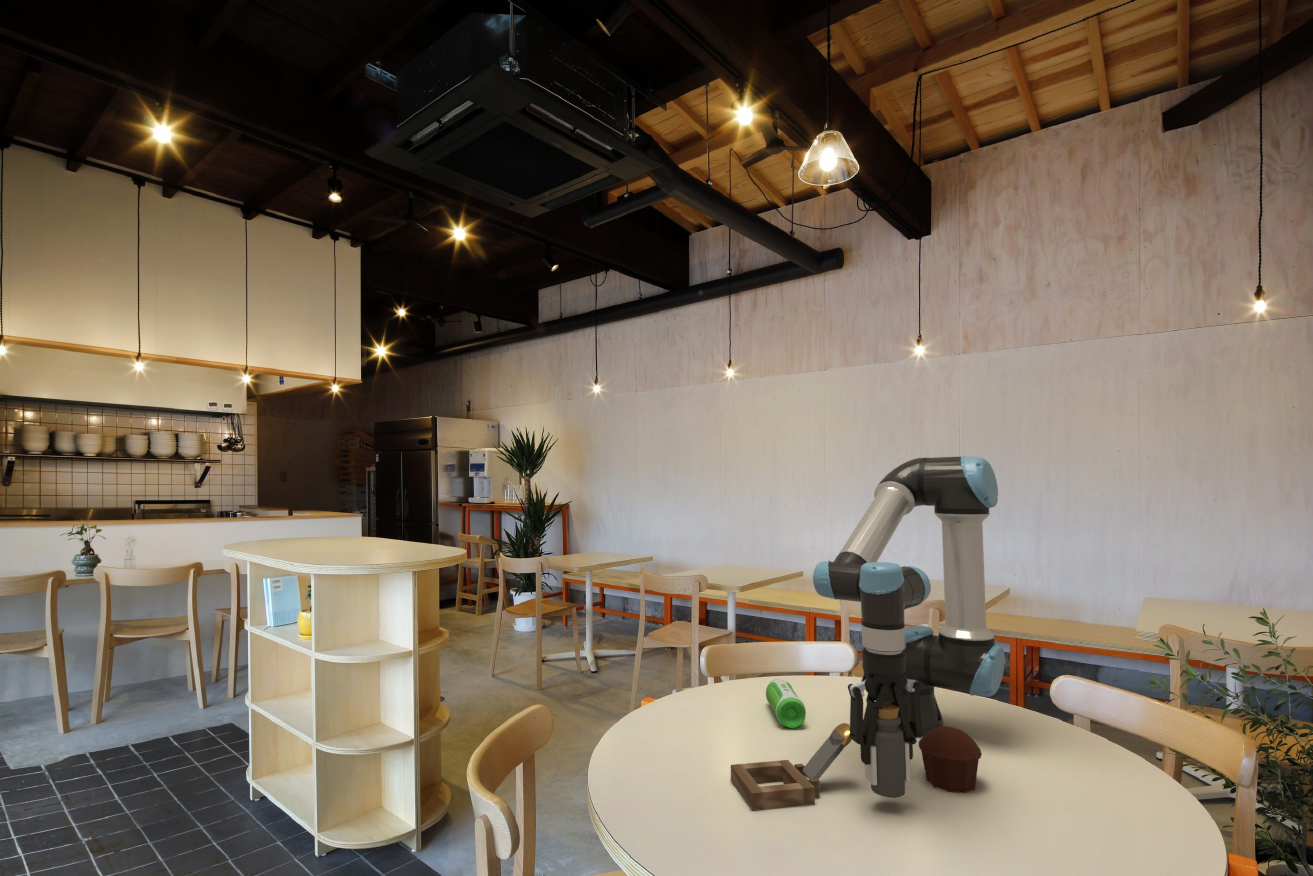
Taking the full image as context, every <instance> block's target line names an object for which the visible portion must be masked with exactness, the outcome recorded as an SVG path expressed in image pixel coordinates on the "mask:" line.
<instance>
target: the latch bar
mask: <svg viewBox="0 0 1313 876" xmlns="http://www.w3.org/2000/svg"><path fill="white" fill-rule="evenodd" d="M852 741H853V740H852V739H851V738H850V723H849V724H848V723H847V722H843V723H840V724H838V725H837V726H836V727H834V729H833V730H832V731H831V733H830V735H829V736H828V737H827V738H826V740H825V741H824V742H823V744H821V746H820V747H819V749H818V750H817V751H816V752H815V753H814V754H813V755H812V757H810V759H809V760H808V762H807V763H806V764H804V766H805V767H804V768H803V769H802V771H801V772H800V773H801V774H802V775H803V776H804V777H805V778H806V779H807V780H808V781H809V779H811V778H817V779H818V780H819V781H820V778H821V777H822V776H823V775H824V774H825V772H826V771H827V770H828V769H829V768H830V766H831V765H832V764H833V763H834V761H835V760H836V759H837V758H838V756H839V755H840V754H841V752H843V750H844V749H845V748H846V747H847V746H848V745H849V744H850V743H851V742H852Z"/></svg>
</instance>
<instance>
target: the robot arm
mask: <svg viewBox="0 0 1313 876" xmlns="http://www.w3.org/2000/svg"><path fill="white" fill-rule="evenodd" d="M873 497H874V499H873V500H872V502H871V503H870V505H869V507H868V508H867V510H866V511H865V513H864V514H863V516H862V517H861V518H860V520H859V522H858V524H857V525H856V527H855V528H854V530H853V531H852V533H850V534H851V535H850V536H849V537H848V539H847V540H846V542H845V544H844V545H843V547H842V548H841V550H840V551H839V553H838V555H836V557H835V559H833V561H831V560H826V561H825V560H823V561H820V562H818V563H817V564H816V565H815V568H814V569H813V573H812V583H813V587H814V591H815V593H817V594H818V595H819V596H820V597H823V598H829V599H833V600H836V601H837V600H839V601H851V602H858V603H860V613H861V620H860V621H861V622H860V623H861V645H862V647H864V648H862V650H861V662H862V664H861V665H862V671H863V676H862V677H861V682H858V683H856V684H853V683H849V684H848V685H847V690H848V694H849V697H850V703H849V705H850V707H849V711H850V712H849V725H850V738H851V739H852V740H851V741H853V742H854V743H856V744H857V745H860V746H859V747H860V760H861V762H862V763H863V764H864V778H865V780H867V782H869V783H870V785H871V784H872V785H877V764H876V747H875V746H874V745H872V741H873V737H874V733H875V729H876V724H877V720H878V716H879V709H882V706H883V703H886V702H891V703H892V704H894V705H896V706H897V707H899V711H898V715H899V716H900V718H901V723H900V724H899V725H897V727H899V728H900V729H901V730H902V731H903V740H904V766H905V782H911V766H910V764H911V763H910V760H913V758H914V749H913V748H914V747H913V746H914V745H915V744H916V743H917V738H918V739H921V738H922V737H923V736H924V735H925V734H926V733H927V732H928V731H930V730H932V729H933V728H936V727H940V726H944V719H943V716H942V713H941V709H940V707H939V704H938V702H937V699H936V695H935V687H936V688H940V689H944V690H949V691H952V692H959V693H963V694H967V695H969V696H978V697H983V698H989V697H992V696H994V695H995V694H996V693H997V692H998V691H999V688H1000V685H1001V682H1002V680H1003V676H1004V672H1005V671H1004V670H1005V662H1006V655H1005V649H1004V647H1003V646H1001V645H999V644H995V643H996V642H995V634H994V633H993V632H992V631H991V630H990V629H989V628H988V627H987V612H986V611H987V610H986V607H987V606H986V605H987V604H986V589H985V588H986V585H985V559H984V558H985V557H984V534H983V533H984V529H983V523H984V521H985V520H986V519H987V518H988V517H989V516H990V509H991V508H994V507H996V506H997V504H998V502H999V499H998V497H999V487H998V483H997V478H996V474H995V472H994V469H993V467H992V464H991V463H990V462H989V461H988V460H987V459H985V458H984V457H982V456H981V457H980V456H969V455H968V456H966V455H963V456H962V455H961V456H946V457H945V456H943V457H940V456H939V457H917V458H913V459H910V460H907V461H906V462H903V463H901V464H900V465H898V466H897V467H895V468H894V469H892V470H890V472H888V473H887V474H886V475H884V477H883V478H882V479H881V480H880V482H879V483H878V484H877V486H876V488H875V489H874V492H873ZM919 506H929V507H934V515H935V516H936V517H937V518H938V519H939V520H940V521H941V531H942V532H941V534H942V561H943V562H942V563H943V565H942V566H943V591H944V593H943V595H944V618H945V619H944V621H945V624H944V625H943V626H941V628H939V629H938V635H934V631H933V629H932V628H931V627H930V626H929V627H928V626H926V625H906V624H905V610H907V609H910V608H914V607H917V606H920V605H921V604H922V603H924V602H925V601H926V600H927V599H928V598H929V596H930V594H931V591H932V590H931V589H932V585H931V581H930V579H929V576H928V575H927V573H925V572H924V570H922V569H920V568H918V567H915V566H912V565H910V566H906V565H903V566H900V565H901V564H900V565H899V564H897V563H893V562H887V561H885V562H883V561H878V560H879V559H880V557H881V555H882V553H883V552H884V550H885V549H886V547H887V545H888V543H889V542H890V540H891V538H892V536H893V535H894V533H895V531H896V530H897V529H898V526H899V525H900V523H901V521H902V519H903V518H904V516H905V515H908V514H910V513H911V512H912V511H913V510H914V508H915V507H919ZM865 691H866V692H867V696H866V700H865V702H866V706H865V709H864V696H865ZM864 710H865V711H864Z"/></svg>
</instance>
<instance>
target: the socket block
mask: <svg viewBox="0 0 1313 876" xmlns="http://www.w3.org/2000/svg"><path fill="white" fill-rule="evenodd" d="M804 767H805V764H803V763H795V764H793V763H792V762H791V761H790V760H789V759H782V760H773V761H771V760H770V761H769V760H768V761H760V762H750V763H749V762H747V763H736V764H734V763H733V764H730V782H731V783H732V784H733V786H734V787H735V789H736V791H737V792H738V793H739V794H740V796H741V797H742V799H743V800H744V802H745V803H746V804H747V806H748V807H749V809H750V810H751V811H752V812H754V811H763V810H775V809H781V808H782V809H783V808H785V809H786V808H792V807H803V806H811V805H816V799H819V798H820V779H819V780H818V779H817V778H811V779H809V781H808V780H807V779H806V778H805V777H804V776H803V775H802V774H801V773H800V772H801V771H802V769H803V768H804ZM776 782H779V783H780V782H782V783H783V784H773V785H762V786H760V785H759V784H767V783H776Z"/></svg>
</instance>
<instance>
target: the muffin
mask: <svg viewBox="0 0 1313 876" xmlns="http://www.w3.org/2000/svg"><path fill="white" fill-rule="evenodd" d="M918 747H919V749H920V752H921V757H922V762H923V767H924V774H925V779H926V782H928V783H929V784H931V785H932V786H933V787H934V788H937V789H941V790H943V791H946V792H949V793H960V794H961V793H962V794H966V793H969V792H973V791H976V783H977V774H978V767H979V761H980V759H981V758H982V754H983V753H982V751H981V748H980V746H979V745H978V743H977V742H976V741H975V739H974V738H972V736H970V735H969V734H968V733H966V732H964V731H963V730H962V729H960V728H957V727H955V726H954V727H953V726H950V725H949V726H947V725H945V726H944V725H943V726H940V727H936V728H933V729H932V730H930V731H928V732H927V733H926V734H925V735H924V736H922V737H921V738H920V739H919V741H918Z"/></svg>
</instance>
